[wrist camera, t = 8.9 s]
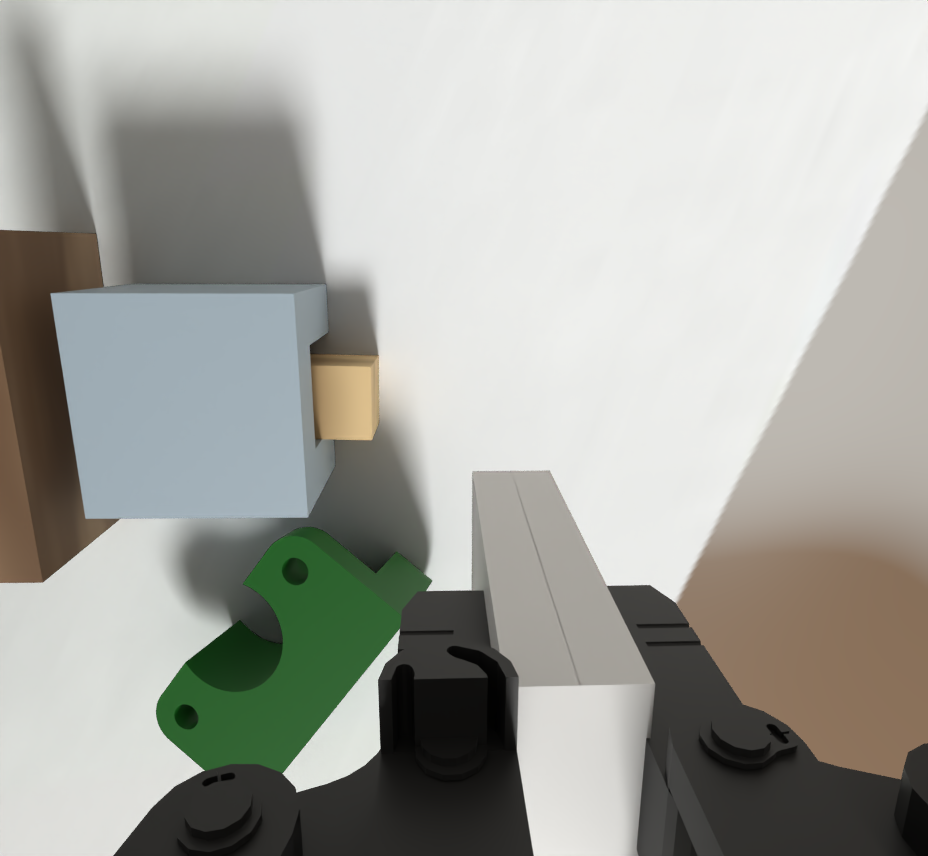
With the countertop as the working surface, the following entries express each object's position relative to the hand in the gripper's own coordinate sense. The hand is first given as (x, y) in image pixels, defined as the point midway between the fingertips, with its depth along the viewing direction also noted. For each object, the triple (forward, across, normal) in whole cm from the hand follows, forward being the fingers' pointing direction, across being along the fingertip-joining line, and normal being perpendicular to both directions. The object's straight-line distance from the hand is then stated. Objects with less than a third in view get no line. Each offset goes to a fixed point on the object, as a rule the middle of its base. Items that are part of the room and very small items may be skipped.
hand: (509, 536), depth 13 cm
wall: (+17, -16, 0) cm, 23 cm away
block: (+17, -10, 0) cm, 20 cm away
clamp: (+17, -8, -12) cm, 22 cm away
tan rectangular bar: (+17, -8, 0) cm, 19 cm away
